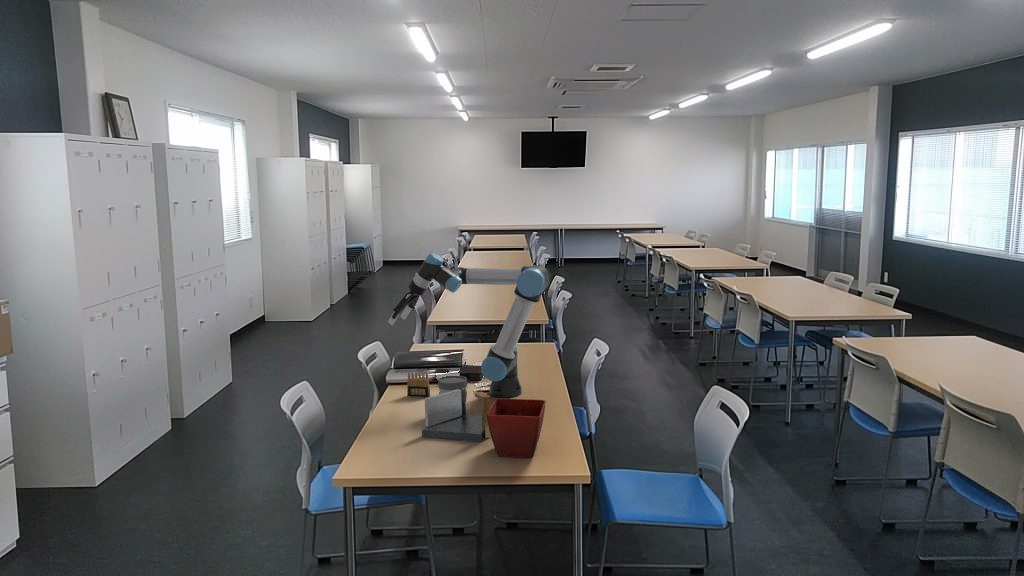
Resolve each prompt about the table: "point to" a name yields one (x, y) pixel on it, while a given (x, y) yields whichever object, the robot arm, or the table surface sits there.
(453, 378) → the reusable coffee cup
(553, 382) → the table surface
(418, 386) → the ammunition clip
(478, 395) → the wooden l-shaped post
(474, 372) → the diary
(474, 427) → the dark grey flat slab
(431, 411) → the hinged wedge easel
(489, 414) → the plant pot
